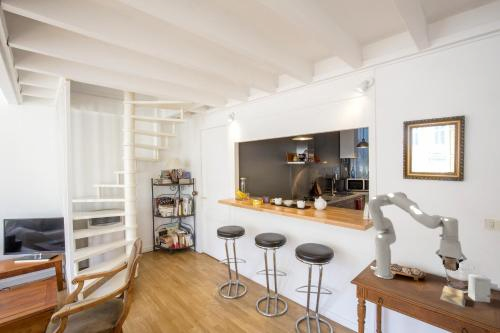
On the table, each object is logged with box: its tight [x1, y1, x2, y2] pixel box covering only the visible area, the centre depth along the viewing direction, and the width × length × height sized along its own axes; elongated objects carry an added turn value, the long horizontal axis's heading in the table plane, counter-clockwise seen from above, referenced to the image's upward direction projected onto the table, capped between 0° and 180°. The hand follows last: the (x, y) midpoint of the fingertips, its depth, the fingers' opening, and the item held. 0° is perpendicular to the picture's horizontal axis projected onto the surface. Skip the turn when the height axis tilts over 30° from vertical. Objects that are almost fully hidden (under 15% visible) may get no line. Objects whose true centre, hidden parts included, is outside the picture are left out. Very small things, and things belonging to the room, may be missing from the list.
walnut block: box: [444, 256, 456, 271], centre depth 143 cm, size 5×5×7 cm
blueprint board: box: [439, 294, 467, 308], centre depth 142 cm, size 20×14×1 cm
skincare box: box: [467, 273, 492, 303], centre depth 142 cm, size 8×6×15 cm
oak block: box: [441, 285, 465, 306], centre depth 142 cm, size 9×9×5 cm
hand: (450, 267), depth 142 cm, fingers closed on walnut block, 5 cm apart
